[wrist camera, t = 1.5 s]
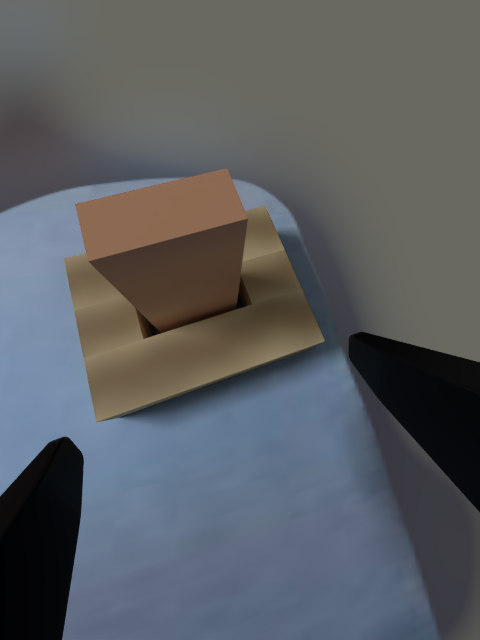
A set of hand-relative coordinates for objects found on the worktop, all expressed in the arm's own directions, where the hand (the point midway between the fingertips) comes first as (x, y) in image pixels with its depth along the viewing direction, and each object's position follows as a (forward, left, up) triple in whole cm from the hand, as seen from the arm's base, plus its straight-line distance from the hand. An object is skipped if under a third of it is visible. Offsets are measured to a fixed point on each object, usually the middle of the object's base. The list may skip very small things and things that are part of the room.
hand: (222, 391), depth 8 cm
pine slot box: (+7, 0, -13) cm, 15 cm away
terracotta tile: (+7, 0, -13) cm, 15 cm away
